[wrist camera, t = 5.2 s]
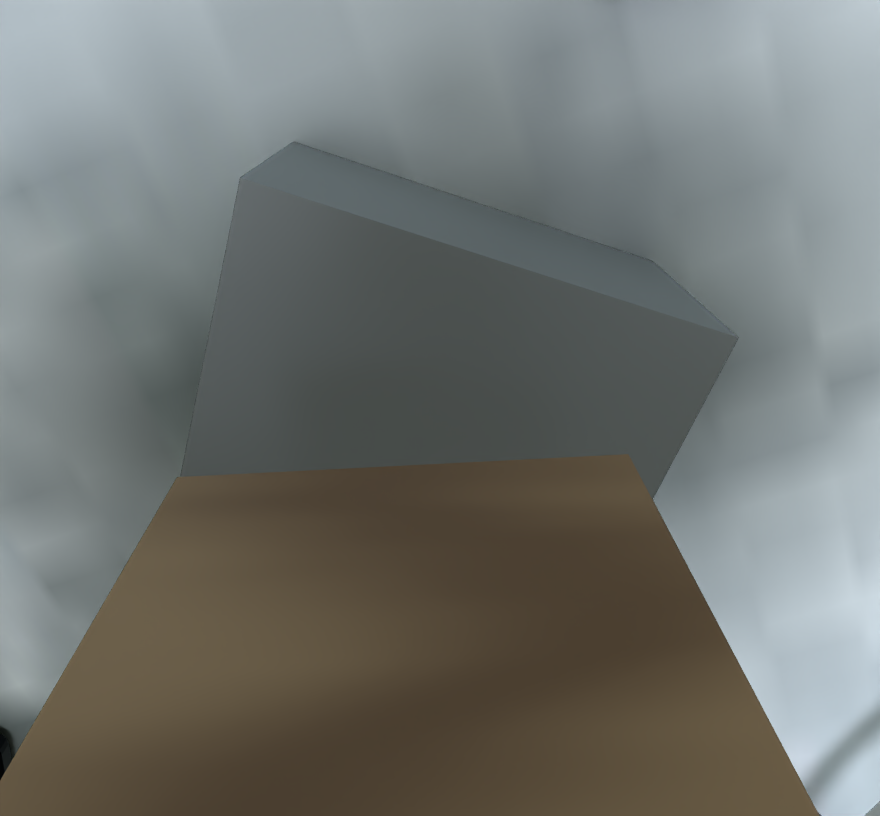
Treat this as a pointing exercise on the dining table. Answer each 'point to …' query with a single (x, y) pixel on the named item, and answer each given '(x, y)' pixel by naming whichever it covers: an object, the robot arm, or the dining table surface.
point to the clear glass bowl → (874, 810)
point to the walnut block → (406, 658)
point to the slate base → (435, 334)
